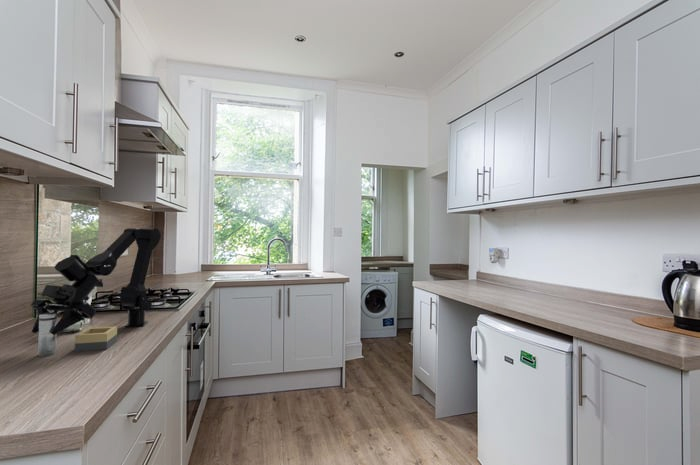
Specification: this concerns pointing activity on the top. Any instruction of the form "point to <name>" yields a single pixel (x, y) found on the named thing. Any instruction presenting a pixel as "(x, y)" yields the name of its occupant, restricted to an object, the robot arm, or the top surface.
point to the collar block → (95, 339)
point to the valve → (74, 327)
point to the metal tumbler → (47, 334)
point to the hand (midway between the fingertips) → (42, 333)
